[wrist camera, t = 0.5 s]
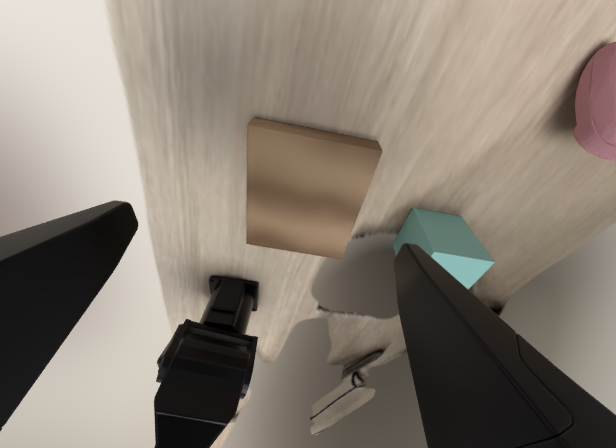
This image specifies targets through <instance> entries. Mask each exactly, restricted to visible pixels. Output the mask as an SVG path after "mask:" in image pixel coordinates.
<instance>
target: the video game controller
mask: <svg viewBox="0 0 616 448" xmlns="http://www.w3.org/2000/svg"><path fill="white" fill-rule="evenodd" d="M575 114H576V122H577V125H576V127H575V128H574V136H575V139H576V140H577V142H578V143H579V145H580V146H582V147H583V148H584V149H585V150H586V151H587V152H589V153H592V154H594V155H596V156H598V157H600V158H603V159H607V160H615V161H616V42H613V43H610V44H608V45H606V46H604V47H603V48H601V49H600V50H598V51H597V52H596V53H595V54H594V55H593V57H592V58H591V59H590V61H589V62H588V64H587V65H586V67H585V68H584V70H583V73H582V75H581V77H580V80H579V83H578V87H577V90H576V98H575Z"/></svg>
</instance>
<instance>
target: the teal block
mask: <svg viewBox="0 0 616 448" xmlns="http://www.w3.org/2000/svg"><path fill="white" fill-rule="evenodd" d="M404 243H412V244H417V245H418V246H419V247H421V248H422V249H423V250H424V251H425V252H426V253H427V254H429V255H430V256H431V257H432V258H433V259H434V260H435V261H436V262H438V263H439V264H440V265H441V266H442V267H443V268H444V269H446V270H447V271H448V272H449V273H450V274H451V275H452V276H453V277H455V278H456V279H457V280H458V281H459V282H460V283H461V284H462V285H464V286H465V287H466V288H467V289H469V288H470V287H471V286H472V285H473V284H474V283H475V282H476V281H477V280H478V279H479V278H480V277H481V276H482V275H483V274H484V273H485V272H486V271H487V270H488V269H489V268H490V267H491V266H492V265H493V264H494V263H495V262H494V260H493V259H492V257H491V256H490V255H489V253H488V252H487V251H486V249H485V248H484V247H483V245H482V244H481V242H480V241H479V240H478V238H477V237H476V236H475V234H474V233H473V231H472V230H471V229H470V227H469V226H468V225H467V223H466V222H465V221H464V219H463V218H462V217H461V216H455V215H450V214H444V213H439V212H433V211H428V210H422V209H416V208H412V210H411V212H410V214H409V216H408V217H407V219H406V221H405V223H404V225H403V226H402V228H401V230H400V232H399V234H398V235H397V237H396V239H395V241H394V242H393V247H394V251H395V254H396V256H397V254H398V252H399V250H400V248H401V246H402V245H403V244H404Z"/></svg>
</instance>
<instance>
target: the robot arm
mask: <svg viewBox="0 0 616 448" xmlns="http://www.w3.org/2000/svg"><path fill="white" fill-rule="evenodd" d="M137 229H138V221H137V218H136V216H135V213H134V211H133V208H132V206H131V204H130V203H128V202H123V201H111V202H108V203H105V204H102V205H98V206H95V207H92V208H89V209H86V210H83V211H80V212H76V213H73V214H71V215H67V216H64V217H61V218H58V219H55V220H52V221H48V222H46V223H42V224H39V225H36V226H33V227H30V228H26V229H23V230H20V231H17V232H14V233H11V234H8V235H5V236H1V237H0V431H1V430H2V427H3V426H4V425H5V424H6V422H7V421H8V419H9V418H10V417H11V415H12V414H13V412H14V411H15V409H16V408H17V407H18V405H19V404H20V402H21V401H22V399H23V398H24V397H25V395H26V394H27V393H28V391H29V390H30V388H31V387H32V385H33V384H34V383H35V381H36V380H37V379H38V377H39V376H40V374H41V373H42V371H43V370H44V369H45V367H46V366H47V364H48V363H49V362H50V360H51V359H52V357H53V356H54V355H55V353H56V352H57V350H58V349H59V348H60V346H61V345H62V343H63V342H64V340H65V339H66V338H67V336H68V335H69V333H70V332H71V331H72V329H73V328H74V326H75V325H76V324H77V322H78V321H79V319H80V318H81V316H82V315H83V314H84V312H85V311H86V310H87V308H88V307H89V305H90V304H91V302H92V301H93V300H94V298H95V297H96V295H97V294H98V293H99V291H100V290H101V288H102V287H103V286H104V284H105V283H106V281H107V280H108V279H109V277H110V276H111V274H112V273H113V271H114V270H115V268H116V267H117V265H118V263H119V262H120V260H121V258H122V256H123V254H124V252H125V251H126V249H127V247H128V245H129V243H130V242H131V240H132V238H133V236H134V235H135V233H136V231H137ZM394 274H395V285H396V295H397V304H398V310H399V315H400V320H401V325H402V329H403V334H404V339H405V343H406V348H407V353H408V357H409V361H410V367H411V371H412V376H413V381H414V385H415V390H416V394H417V399H418V404H419V408H420V413H421V418H422V423H423V427H424V432H425V437H426V441H427V446H428V448H616V415H615V414H614V413H612V412H611V411H610V410H609V409H607V408H606V407H605V406H604V405H603V404H601V403H600V402H599V401H598V400H596V399H595V398H594V397H593V396H591V395H590V394H589V393H588V392H586V391H585V390H584V389H583V388H582V387H580V386H579V385H578V384H576V383H575V382H574V381H573V380H572V379H571V378H569V377H568V376H567V375H565V374H564V373H563V372H562V371H561V370H560V369H558V368H557V367H556V366H554V365H553V364H552V363H551V362H550V361H549V360H548V359H547V358H545V357H544V356H543V355H542V354H541V353H540V352H538V351H537V350H536V349H535V348H534V347H533V346H532V345H530V344H529V343H528V342H527V341H526V340H525V339H524V338H522V337H521V336H520V335H519V334H516V332H515V331H514V330H513V329H512V328H511V327H510V326H509V325H508V324H507V323H505V322H504V321H503V320H502V319H501V318H500V317H499V316H498V315H496V314H495V313H494V312H493V311H492V310H491V309H490V308H488V307H487V306H486V305H485V304H484V303H483V302H482V301H481V300H479V299H478V298H477V297H476V296H475V295H474V294H473V293H472V292H470V291H469V290H468V289H467V288H466V287H465V286H464V285H462V284H461V283H460V282H459V281H458V280H457V279H456V278H455V277H453V276H452V275H451V274H450V273H449V272H448V271H447V270H446V269H444V268H443V267H442V266H441V265H440V264H439V263H438V262H436V261H435V260H434V259H433V258H432V257H431V256H430V255H429V254H427V253H426V252H425V251H424V250H423V249H422V248H421V247H419V246H418V245H417V244H412V243H404V244H403V245H402V246H401V248H400V250H399V252H398V254H397V256H396V258H395V260H394ZM209 285H210V292H211V297H210V299H209V302H208V304H207V306H206V309H205V311H204V313H203V315H202V318H201V320H200V322H199V323H197V322H193V321H191V320H189V319H186V320H185V322H184V324H181V325H179V326H178V328H177V330H176V332H175V334H174V336H173V337H172V339H171V341H170V342H169V344H168V345H167V347H166V348H165V350H164V351H163V352H162V354H161V355H160V357H159V359H158V361H157V364H158V367H159V370H158V377H157V380H156V382H159V383H161V385H160V387H159V389H158V392H157V393H156V396H155V399H154V410H155V437H156V445H155V448H210V446H211V445H212V444H213V443H214V441H215V440H216V439H217V437H218V436H219V435H220V433H221V432H222V431H223V430H224V428H225V427H226V426H227V424H228V423H229V422H230V420H231V419H232V418H233V417H234V415H235V413H236V411H237V407H238V403H239V399H240V398H241V399H243V398H244V397H245V395H246V393H247V390H248V387H249V384H250V380H251V376H252V372H253V366H254V360H255V353H256V346H257V340H258V337H256V336H249V335H245V333H246V330H247V326H248V322H249V318H250V315H251V311H257V306H258V291H259V284H258V283H256V282H250V281H243V280H237V279H230V278H224V277H218V276H210V278H209Z"/></svg>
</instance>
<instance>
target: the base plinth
mask: <svg viewBox="0 0 616 448" xmlns="http://www.w3.org/2000/svg"><path fill="white" fill-rule="evenodd" d="M381 154H382V149H381V147H380V145H379V143H378V142H377V141H372V140H367V139H362V138H357V137H352V136H347V135H342V134H336V133H331V132H326V131H321V130H316V129H311V128H306V127H301V126H296V125H291V124H285V123H280V122H275V121H270V120H265V119H260V118H255V117H254V118H253V120H252V121H251V122H250V123H249V124H248V155H247V244H251V245H257V246H263V247H269V248H275V249H281V250H287V251H293V252H299V253H305V254H311V255H318V256H324V257H330V258H336V259H341V258H342V256H343V253H344V250H345V248H346V245H347V243H348V240H349V237H350V235H351V232H352V230H353V227H354V224H355V222H356V219H357V216H358V214H359V211H360V209H361V206H362V203H363V201H364V198H365V195H366V193H367V190H368V188H369V185H370V182H371V180H372V177H373V174H374V172H375V169H376V167H377V164H378V161H379V159H380V156H381Z"/></svg>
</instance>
